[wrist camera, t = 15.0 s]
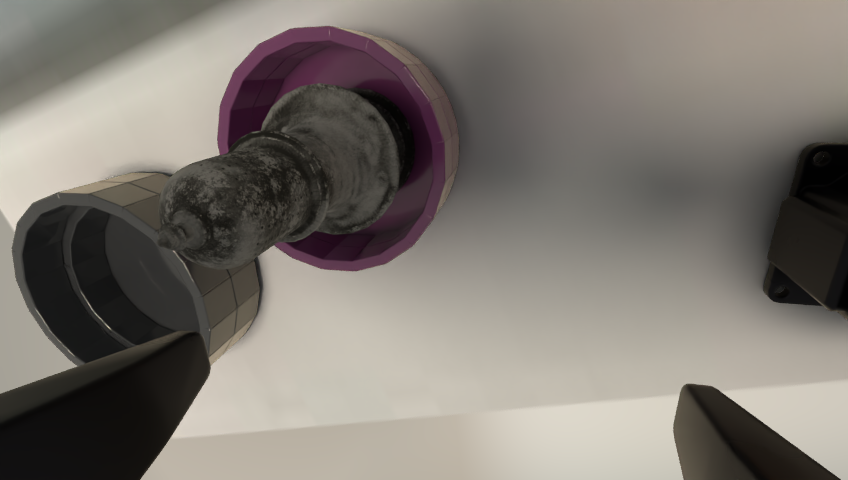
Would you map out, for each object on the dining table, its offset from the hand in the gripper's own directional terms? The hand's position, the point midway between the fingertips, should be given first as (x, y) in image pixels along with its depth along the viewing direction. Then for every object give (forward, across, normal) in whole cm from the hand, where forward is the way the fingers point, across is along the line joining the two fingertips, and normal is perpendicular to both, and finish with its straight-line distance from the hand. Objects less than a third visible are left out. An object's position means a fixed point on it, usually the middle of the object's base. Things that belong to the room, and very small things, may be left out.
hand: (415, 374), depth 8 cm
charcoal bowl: (+13, +18, +5) cm, 23 cm away
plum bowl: (+13, +6, -2) cm, 15 cm away
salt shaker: (+13, +6, -2) cm, 14 cm away
